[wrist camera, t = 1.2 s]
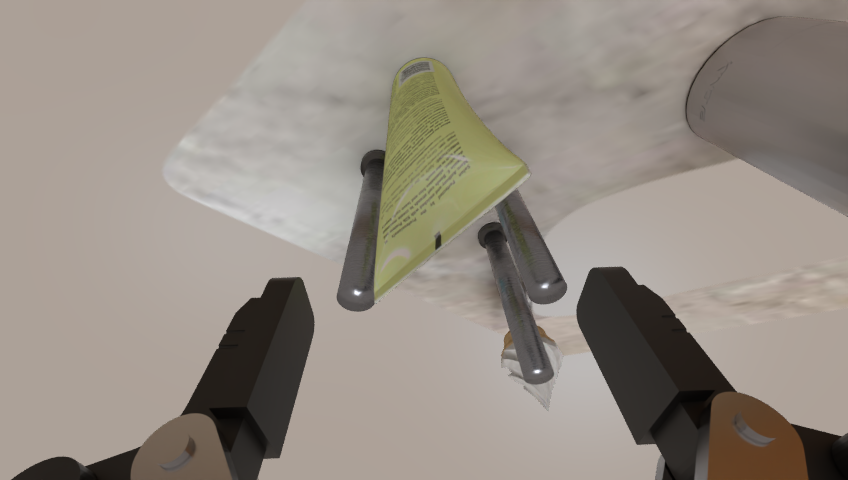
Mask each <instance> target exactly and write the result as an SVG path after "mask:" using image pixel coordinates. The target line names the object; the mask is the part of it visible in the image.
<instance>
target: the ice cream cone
mask: <svg viewBox="0 0 848 480" xmlns="http://www.w3.org/2000/svg"><path fill="white" fill-rule="evenodd" d="M537 328H538V331H539V333H540V336H541V339H542V341H543V344H544V347H545V350H546V352H547V355H548V358H549V360H550V363H551V366H552V369H553V371H554V377H553V378H552V379H551V380H550V381H548V382H546V383H543V384H537V385H533V384H528V383H526V382H525V381H524V378H523V374H522V371H521V367H520V364H519V361H518V357H517V354H516V350H515V347H514V343H513V340H512V336H511V333H510V331H509V332H508V333H507V334H506V335H505V337H504V349H503V351H502V355H501V356H502V358H501V363H502V364H501V367H502V368H505V367H507V368H508V369H509V370H510V371H511V372H512V373H511V374H510V375H509V377H510V378H512V379H513V380H514V381H515V382H517V383H520V384H522V385H524V389H525V390H527V391H528V392H529V393H530V394H531V395H533V396H534V397H535V398H536V399H537V400H538V401H539V402H540V403H541V404H542V405H543V407H545V409H546V410H547V411H548V409H549V403H550V398H551V394H552V390H553V387H554V384H555V381H556V379H557V376H558V373H559V369H560V367H561V364H562V361H563V357H564V356H563V354H562V353H561V351H560V349H559V348H558V346H557V344H556V343H555V341H554V340H552V339H551V338H549V337H548V336H547V335H546V334H545V331H544V330H543V329H542V328H541V327H539V326H537Z"/></svg>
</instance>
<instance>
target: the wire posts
mask: <svg viewBox="0 0 848 480" xmlns="http://www.w3.org/2000/svg"><path fill="white" fill-rule="evenodd" d="M385 153H386V152H384V151H381V150H374V151H370V152H368V153H367V154H366V155H365V156H364V157H363V159H362V162H361V173H362V175H363V177H364V180H363V184H362V188H361V193H360V197H359V201H358V206H357V210H356V214H355V219H354V223H353V227H352V232H351V236H350V240H349V245H348V249H347V254H346V258H345V262H344V267H343V271H342V275H341V280H340V285H339V288H338V293H337V301H338V303H339V304H340V305H341V306H342V307H344V308H345V309H347V310H350V311H365V310H368V309H370V308H371V307H372V306H373V305H374V304H375V303H374V275H375V260H376V248H377V236H378V225H379V215H380V204H381V193H382V183H383V173H384V163H385ZM495 209H496V211H497V214H498V217H499V219H500V222H501V224H500V223H489V224H486V225H485V226H483V227H482V228H481V229H480V231H479V233H478V239H479V243H480V245H481V246H482V247H484V248H486V249H487V253H488V256H489V260H490V263H491V267H492V270H493V274H494V277H495V281H496V284H497V287H498V291H499V294H500V298H501V301H502V305H503V308H504V312H505V315H506V319H507V322H508V326H509V329H510V333H511V336H512V340H513V343H514V347H515V350H516V354H517V357H518V361H519V364H520V367H521V371H522V374H523V378H524V381H525V382H526V383H528V384H533V385H537V384H543V383H546V382H548V381H550V380H551V379H552V378H553V377H554V371H553V369H552V366H551V363H550V360H549V358H548V355H547V352H546V350H545V347H544V344H543V341H542V339H541V336H540V333H539V331H538V328H537V325H536V322H535V320H534V317H533V314H532V312H531V309H530V306H529V304H528V301H527V298H526V295H525V293H524V290H523V287H522V285H521V282H520V279H519V276H518V274H517V271H516V268H515V266H514V263H513V260H512V257H511V255H510V252H509V249H508V247H507V244H506V242H507V240H508V243H509V246H510V248H511V251H512V254H513V256H514V259H515V262H516V264H517V267H518V270H519V272H520V275H521V277H522V280H523V283H524V285H525V288H526V291H527V293H528V296H529V298H530V300H531V301H533V302H534V303H537V304H550V303H553V302H556V301H557V300H559V299H560V298H562V297H563V296H564V294H565V293H566V290H567V284H566V282H565V280H564V279H563V277H562V275H561V273H560V271H559V269H558V267H557V265H556V263H555V261H554V259H553V257H552V255H551V254H550V252H549V250H548V248H547V246H546V244H545V242H544V240H543V238H542V236H541V234H540V232H539V230H538V228H537V226H536V224H535V222H534V221H533V219H532V217H531V215H530V213H529V211H528V209H527V207H526V205H525V203H524V201H523V199H522V197H521V195H520V193H519V192H518V190H517V188H516V189H515V190H514V191H513V192H511V193H510V194H509V195H508V196H507V197H506V198H505V199H503V200H502V201H501V202H499V203H498V204H497V205H496V206H495Z"/></svg>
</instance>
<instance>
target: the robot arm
mask: <svg viewBox="0 0 848 480" xmlns="http://www.w3.org/2000/svg"><path fill="white" fill-rule="evenodd" d="M686 112H687V119H688V123H689V125H690V127H691V129H692V130H693V131H694V132H695V133H696V134H697V135H698V136H700V137H701V138H703V139H705V140H707V141H709V142H711V143H712V144H714V145H716V146H718V147H720V148H722V149H723V150H725V151H727V152H729V153H731V154H732V155H734V156H736V157H738V158H739V159H741V160H743V161H745V162H747V163H749V164H751V165H753V166H754V167H756V168H758V169H760V170H762V171H764V172H765V173H768V174H769V175H771V176H773V177H775V178H777V179H778V180H780V181H782V182H784V183H786V184H788V185H790V186H791V187H793V188H795V189H797V190H799V191H801V192H803V193H804V194H806V195H808V196H810V197H812V198H814V199H816V200H817V201H819V202H821V203H823V204H825V205H827V206H829V207H831V208H832V209H834V210H836V211H838V212H840V213H842V214H843V215H845V216H847V217H848V22H841V21H830V20H820V19H809V18H799V17H776V18H771V19H767V20H763V21H761V22H759V23H756V24H754V25H752V26H750V27H748V28H746V29H744V30H743V31H741V32H740V33H738V34H736V35H735V36H733V37H732V38H731V39H730V40H728V41H727V42H726V43H725V44H724V45H722V46H721V47H720V48H719V49H718V50H717V51H716V52H715V53H714V54H713V56H712V57H711V58H710V59H709V60H708V61H707V63H706V64H705V65H704V67H703V68H702V70H701V71H700V72H699V74H698V76H697V78H696V80H695V82H694V84H693V85H692V88H691V91H690V94H689V97H688V101H687V110H686ZM577 321H578V324H579V327H580V329H581V331H582V333H583V335H584V337H585V339H586V341H587V343H588V345H589V347H590V349H591V351H592V353H593V356H594V358H595V360H596V362H597V363H598V366H599V368H600V370H601V372H602V374H603V376H604V378H605V380H606V382H607V384H608V386H609V388H610V390H611V392H612V394H613V396H614V399H615V401H616V402H617V405H618V407H619V409H620V411H621V413H622V415H623V417H624V419H625V421H626V423H627V425H628V427H629V429H630V431H631V433H632V435H633V438H634V440H635V442H636V444H637V445H641V444H656V445H657V447H658V448H659V450H660V452H661V454H662V455H661V456H660V458H659V460H658V464H657V470H656V476H655V480H848V433H847V434H845V435H844V436H838V435H833V434H830V433H826V432H822V431H818V430H814V429H810V428H806V427H802V426H798V425H794V424H790V423H789V422H788V421H787V420H786V419H785V418H784V417H783V416H782V415H781V414H780V413H778V412H777V411H776V410H775V409H773V408H772V407H770V406H769V405H767V404H765V403H764V402H762V401H760V400H758V399H756V398H754V397H752V396H749V395H746V394H742V393H738V392H737V391H735V389H734V388H733V387H732V386H731V384H730V383H729V382H728V381H727V379H726V378H725V377H724V376H723V374H722V373H721V372H720V371H719V369H718V368H717V367H716V366H715V364H714V363H713V362H712V360H711V359H710V358H709V357H708V355H707V354H706V353H705V352H704V350H703V349H702V348H701V347H700V345H699V344H698V343H697V342H696V340H695V339H694V338H693V336H692V335H691V334H690V333H687V331H686V328H685V326H684V325H683V324H682V323H681V321H680V320H679V319H678V318H676V317H675V314H674V313H673V311H672V310H671V309H670V307H669V306H668V305H667V304H666V302H665V301H664V300H663V299H662V298H661V297H660V296H658V295H657V294H655V293H654V292H653V291H651V290H650V289H649V288H647V287H646V286H645V285H638V284H637V283H636V282H635V280H634V279H633V278H632V276H631V275H630V274H629V272H628V271H627V270H626V269H625V268H623V267H598V268H592V269H591V270H590V272H589V274H588V276H587V279H586V282H585V285H584V288H583V291H582V293H581V296H580V299H579V301H578V304H577ZM226 331H227V333H226V334H224V336H223V338H222V340H221V342H220V344H219V348H218V349H217V350H216V351H215V353H214V355H213V357H212V359H211V361H210V363H209V365H208V366H207V368H206V370H205V372H204V374H203V376H202V378H201V380H200V382H199V384H198V385H197V388H196V389H195V391H194V393H193V395H192V397H191V399H190V401H189V403H188V404H187V406H186V408H185V410H184V411H183V413H182V414H181V416H180V417H177V418H175V419H173V420H171V421H169V422H167V423H166V424H164V425H163V426H161V427H160V428H159V429H158V430H156V431H155V432H154V433H153V434H152V435H151V436H150V437H149V438H148V439H147V440H146V441H145V442H144V444H143V445H142V446H141V447H138V448H136V449H133V450H131V451H128V452H125V453H122V454H119V455H116V456H114V457H111V458H108V459H105V460H102V461H99V462H97V463H94V464H91V465H88V466H83V465H82V464H80V463H79V462H77V461H76V460H74V459H72V458H69V457H55V458H51V459H48V460H44V461H42V462H40V463H37V464H35V465H33V466H31V467H29V468H28V469H26V470H24V471H23V472H21V473H20V474H18V475H17V476H16V477H14V478H13V479H12V480H258V474H259V471H260V468H261V465H262V461H263V459H268V458H280V455H281V451H282V447H283V444H284V440H285V436H286V433H287V429H288V425H289V422H290V418H291V414H292V411H293V407H294V403H295V400H296V396H297V392H298V389H299V385H300V382H301V378H302V374H303V371H304V367H305V363H306V360H307V356H308V352H309V349H310V345H311V341H312V338H313V333H314V315H313V311H312V308H311V305H310V302H309V298H308V295H307V292H306V289H305V286H304V283H303V280H302V279H301V278H300V277H292V278H272V279H270V280H269V282H268V283H267V285H266V287H265V290H264V292H263V294H262V296H261V298H251V299H250V300H249V301H248V302H247V303H246V304H245V305H244V306H242V307H241V308H240V309H239V310H238V311H237V312H236V314H235V315H234V317H233V319H232V321H231V323H230V325H229V327H228V328H227V330H226Z"/></svg>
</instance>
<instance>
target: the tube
mask: <svg viewBox="0 0 848 480" xmlns="http://www.w3.org/2000/svg"><path fill="white" fill-rule="evenodd" d="M530 176H531V172H530V170H529V168H528V166H527V164H526V163H524V162H523V161H522V160H521V159H520V158H519V157H517V156H516V155H514V154H513V153H512V152H511V151H510V150H508V149H507V148H506V147H505V146H504V145H503V144H502V143H501V142H500V141H499V140H498V139H497V138H496V137H495V136H494V135H493V134H492V133H491V132H490V130H489V129H488V128H487V127H486V126H485V125H484V123H483V122H482V121H481V120H480V118H479V117H478V116H477V115H476V113H475V112H474V111H473V110H472V108H471V107H470V105H469V104H468V102H467V101H466V99H465V98H464V96H463V95H462V93H461V91H460V89H459V88H458V86H457V84H456V82H455V80H454V78H453V76H452V75H451V73H450V72H449V70H448V69H447V68H446V67H445V66H444V65H443V64H442V63H440V62H439V61H436V60H434V59H430V58H419V59H415V60H412V61H410V62H408V63H407V64H405V65H404V66H403V67H402V68H401V69H400V70H399V72H398V73H397V75H396V77H395V80H394V83H393V87H392V95H391V104H390V113H389V123H388V133H387V143H386V153H385V163H384V173H383V183H382V193H381V204H380V215H379V225H378V236H377V248H376V260H375V275H374V303H375V304H377V303H378V302H379V301H380V300H381V299H382V298H383V297H385V296H386V295H387V294H388V293H390V292H391V291H392V290H393V289H394V288H395V287H397V286H398V285H399V284H400V283H401V282H403V281H404V280H405V279H406V278H408V277H409V276H410V275H411V274H412V273H414V272H415V271H416V270H417V269H418V268H420V267H421V266H422V265H423V264H425V263H426V262H427V261H428V260H429V259H430V258H431V257H433V256H434V255H435V254H436V253H437V252H439V251H440V250H441V249H442V248H443V247H444V246H446V245H447V244H448V243H450V242H451V241H452V240H453V239H455V238H456V237H457V236H458V235H460V234H461V233H462V232H463V231H465V230H466V229H467V228H468V227H469V226H471V225H472V224H473V223H474V222H476V221H477V220H478V219H479V218H481V217H482V216H483V215H484V214H486V213H487V212H488V211H489V210H491V209H492V208H493V207H494V206H496V205H497V204H498V203H499V202H501V201H502V200H503V199H505V198H506V197H507V196H508V195H509V194H510V193H511V192H513V191H514V190H515V189H516V188H518V187H519V186H520V185H521V184H522V183H524V182H525V181H526V180H527V179H528V178H529V177H530Z"/></svg>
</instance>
